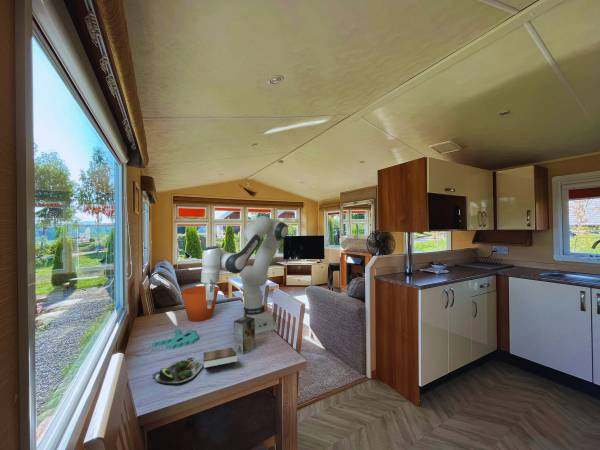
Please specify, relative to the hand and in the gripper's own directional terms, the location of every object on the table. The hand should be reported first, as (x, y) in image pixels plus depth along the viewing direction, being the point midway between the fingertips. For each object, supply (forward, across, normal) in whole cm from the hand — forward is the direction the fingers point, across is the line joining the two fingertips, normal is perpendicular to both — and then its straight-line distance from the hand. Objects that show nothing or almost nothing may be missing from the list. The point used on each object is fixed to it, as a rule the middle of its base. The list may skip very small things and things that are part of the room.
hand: (209, 305), depth 129 cm
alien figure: (+26, +22, +14) cm, 37 cm away
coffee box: (+24, -3, -19) cm, 30 cm away
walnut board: (+24, -7, -6) cm, 26 cm away
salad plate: (+26, -15, +12) cm, 32 cm away
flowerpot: (+25, +56, +4) cm, 62 cm away
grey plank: (+22, -17, -6) cm, 28 cm away
